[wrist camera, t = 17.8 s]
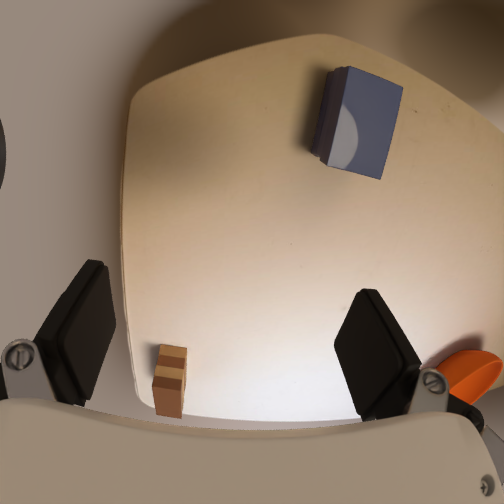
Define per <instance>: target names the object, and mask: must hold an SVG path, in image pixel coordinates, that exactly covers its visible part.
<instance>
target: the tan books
mask: <svg viewBox="0 0 504 504" xmlns="http://www.w3.org/2000/svg"><path fill="white" fill-rule="evenodd" d="M186 366H187V348H182V347H175V346H168V345H162V344H161V346H160V350H159V356H158V361H157V365H156V369H155V373H154V379H153V383H152V391H153V397H154V403H155V409H156V414H157V415H161V416H167V417H173V418H180V419H181V417H182V409H183V403H184V391H185V386H186Z"/></svg>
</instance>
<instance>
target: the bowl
mask: <svg viewBox="0 0 504 504" xmlns="http://www.w3.org/2000/svg"><path fill="white" fill-rule="evenodd" d="M502 368H503V362H502V360H501V359H500V358H499V357H497V356H496V355H494V354H492V353H490V352H486V351H480V350H462V351H459V352H457V353H455V354H453V355H451V356H450V357H448V358H447V359H446V360H444V361H443V362H442V363H441V364H440V365H439V366H438V367H437V368H436V370H438V371H440V372H441V373H442V374H443V375H444V376H445V377H446V379H447V380H448V383H449V388H450V390H449V393H450V394H452V395H454V396H456V397H457V398H459V399H461V400H463V401H465V402H466V403H468V404H470V405H471V404H472V403H474V402H475V401H476V400H478V399H479V398H480V397H481V396H482V395H483V394H484V393H485V392H486V391H487V390H488V389H489V388H490V387H491V386H492V384H493V383H494V382H495V381H496V379H497V378H498V376H499V375H500V373H501V371H502Z"/></svg>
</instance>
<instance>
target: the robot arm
mask: <svg viewBox="0 0 504 504" xmlns="http://www.w3.org/2000/svg"><path fill="white" fill-rule="evenodd" d="M115 328H116V319H115V313H114V307H113V301H112V294H111V287H110V279H109V271H108V267H107V266H104V263H103V262H102V261H97V260H90V259H88V260H87V261H86V262H85V264H84V265H83V266H82V268H81V269H80V271H79V272H78V273H77V275H76V276H75V277H74V279H73V280H72V282H71V283H70V285H69V286H68V288H67V289H66V291H65V292H64V293H63V294H62V295H61V296H60V298H59V299H58V301H57V302H56V304H55V305H54V307H53V309H52V310H51V311H50V313H49V315H48V316H47V318H46V320H45V321H44V323H43V325H42V326H41V328H40V329H39V331H38V333H37V334H36V336H35V338H34V340H33V341H30V340H28V339H18V340H15V341H12V342H11V343H9V344H8V345H7V346H6V347H5V349H4V350H3V352H2V355H1V363H0V504H504V492H503V489H502V485H503V483H504V441H503V440H502V439H501V438H500V437H499V436H498V435H497V434H496V433H495V432H494V431H493V430H492V429H490V428H489V427H488V426H487V425H486V426H485V427H484V419H483V416H482V414H481V412H480V411H479V410H478V409H477V408H475V407H474V406H472V405H470V404H468V403H466V402H465V401H463V400H461V399H459V398H457V397H456V396H454V395H452V394H450V393H449V390H450V388H449V383H448V380H447V379H446V377H445V376H444V375H443V374H442V373H441V372H440V371H438V370H436V369H433V368H425V369H423V370H422V371H420V369H419V367H420V366H421V364H422V363H421V361H420V359H419V358H418V356H417V354H416V352H415V351H414V349H413V347H412V345H411V344H410V342H409V340H408V339H407V337H406V335H405V334H404V332H403V330H402V329H401V327H400V325H399V324H398V322H397V321H396V319H395V317H394V316H393V314H392V313H391V311H390V309H389V308H388V306H387V305H386V303H385V302H384V300H383V298H382V297H381V295H380V294H379V292H378V291H377V290H376V289H362V290H360V292H357V293H356V295H355V298H354V300H353V302H352V304H351V307H350V309H349V311H348V313H347V316H346V318H345V320H344V322H343V324H342V326H341V328H340V330H339V333H338V335H337V337H336V339H335V342H334V348H335V351H336V354H337V357H338V360H339V363H340V365H341V368H342V371H343V374H344V377H345V380H346V382H347V385H348V388H349V391H350V394H351V397H352V400H353V403H354V406H355V409H356V412H357V414H358V415H361V418H362V421H363V422H361V423H354V424H347V425H339V426H330V427H319V428H306V429H290V430H227V429H210V428H197V427H187V426H178V425H169V424H162V423H155V422H149V421H143V420H137V419H131V418H127V417H121V416H116V415H111V414H107V413H102V412H98V411H93V410H90V409H85V408H82V407H84V405H85V402H86V400H90V399H91V396H92V394H93V390H94V387H95V384H96V381H97V378H98V375H99V372H100V369H101V366H102V364H103V361H104V358H105V355H106V353H107V350H108V347H109V344H110V342H111V339H112V337H113V334H114V331H115ZM73 404H76V405H79V406H82V407H77V406H73ZM375 419H376V420H375ZM372 420H373V421H372ZM366 421H367V422H366Z"/></svg>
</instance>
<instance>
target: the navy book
mask: <svg viewBox="0 0 504 504" xmlns="http://www.w3.org/2000/svg"><path fill="white" fill-rule="evenodd" d="M402 91H403V87H401V86H399V85H397V84H395V83H392V82H390V81H388V80H385V79H383V78H380V77H378V76H375V75H373V74H370V73H368V72H365V71H362V70H360V69H357V68H354V67H351V66H347V67H344V68H340V72H339V77H338V82H337V87H336V91H335V96H334V101H333V105H332V110H331V114H330V119H329V123H328V128H327V132H326V136H325V140H324V145H323V149H322V153H321V157H320V161H321V162H323V163H324V164H325V165H327V166H330V167H334V168H338V169H342V170H346V171H350V172H354V173H358V174H361V175H365V176H369V177H372V178H376V179H379V180H380V179H381V176H382V173H383V169H384V166H385V162H386V159H387V155H388V151H389V148H390V144H391V140H392V136H393V132H394V128H395V124H396V119H397V115H398V110H399V106H400V101H401V96H402Z"/></svg>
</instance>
